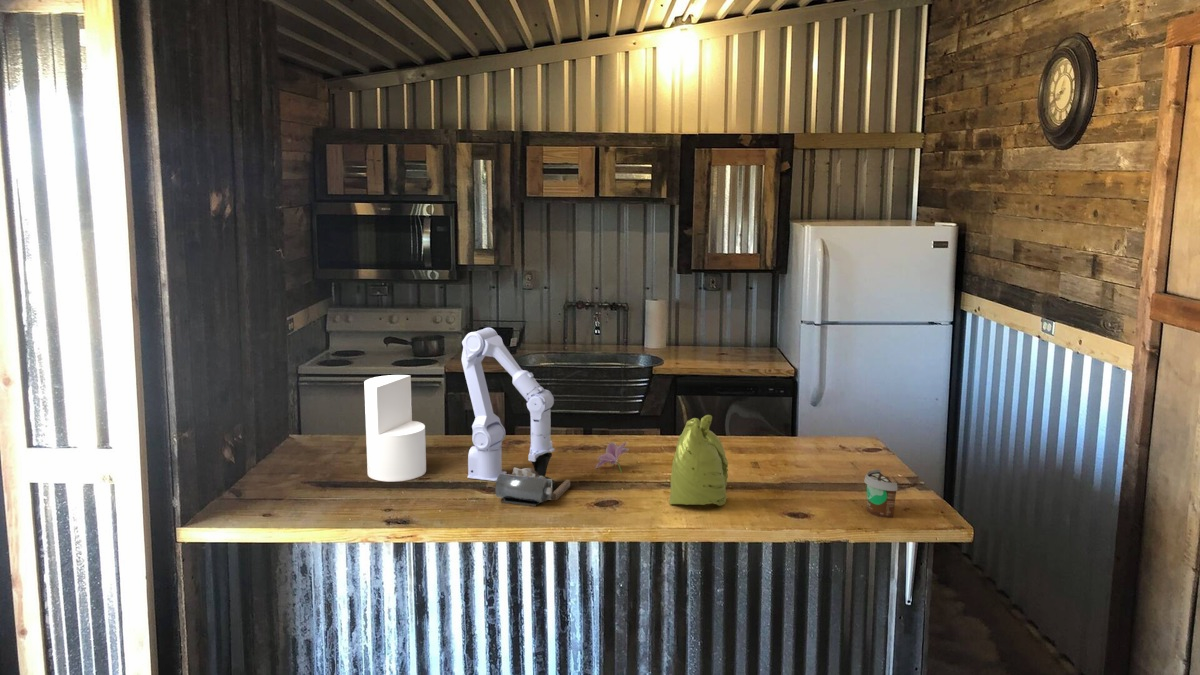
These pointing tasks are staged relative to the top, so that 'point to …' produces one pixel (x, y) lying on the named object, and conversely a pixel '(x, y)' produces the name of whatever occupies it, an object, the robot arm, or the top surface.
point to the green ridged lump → (699, 466)
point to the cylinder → (393, 430)
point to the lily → (612, 454)
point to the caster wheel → (530, 474)
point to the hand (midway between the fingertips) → (540, 478)
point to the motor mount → (527, 489)
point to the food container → (880, 494)
